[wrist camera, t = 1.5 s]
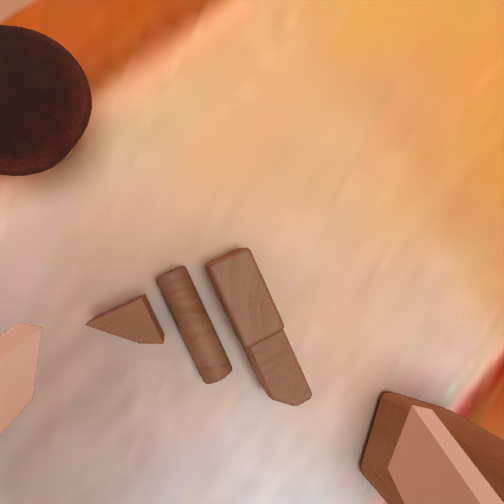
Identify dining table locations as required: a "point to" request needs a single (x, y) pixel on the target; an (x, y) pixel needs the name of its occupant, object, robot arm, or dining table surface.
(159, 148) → the dining table surface
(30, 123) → the decorative mushroom
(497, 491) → the block
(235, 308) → the wooden block set
